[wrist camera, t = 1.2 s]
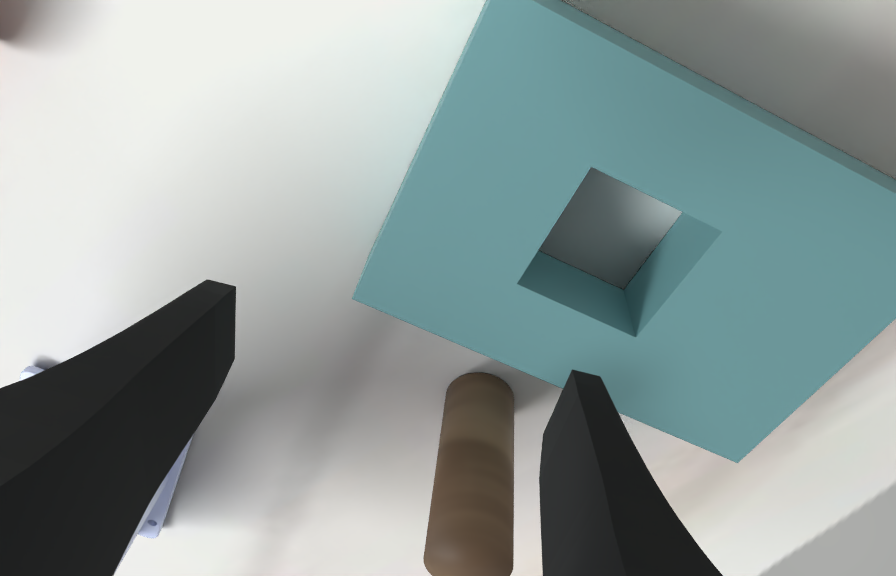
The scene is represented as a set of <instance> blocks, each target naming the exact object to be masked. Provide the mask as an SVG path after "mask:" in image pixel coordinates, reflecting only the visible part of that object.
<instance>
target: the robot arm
mask: <svg viewBox="0 0 896 576" xmlns="http://www.w3.org/2000/svg"><path fill="white" fill-rule="evenodd" d="M235 310H236V286H232V285H228V284H224V283H219V282H215V281H211V280H206V281H204V282H202V283H201V284H199V285H197V286H196V287H194V288H192V289H191V290H189V291H187V292H186V293H184V294H183V295H181V296H179V297H178V298H176V299H175V300H173V301H172V302H170V303H168V304H167V305H165V306H163V307H162V308H160V309H159V310H157V311H155V312H154V313H152V314H150V315H149V316H147V317H145V318H144V319H142V320H140V321H139V322H137V323H135V324H134V325H132V326H130V327H129V328H127V329H125V330H123V331H122V332H120V333H118V334H116V335H115V336H113V337H111V338H109V339H107V340H105V341H103V342H102V343H100V344H98V345H96V346H94V347H92V348H90V349H88V350H87V351H85V352H83V353H81V354H79V355H77V356H75V357H73V358H71V359H69V360H67V361H64V362H62V363H60V364H58V365H56V366H54V367H51V368H49V369H47V370H43V369H41V368H38V367H34V366H28V367H26V368H25V369H24V370H23V371H22V372H21V374H20V381H19V382H16V383H13V384H11V385H8V386H5V387H2V388H0V576H114V574H115V572H116V570H117V569H118V567H119V565H120V563H121V562H122V560H123V558H124V557H125V555H126V553H127V551H128V550H129V548H130V546H131V544H132V543H133V541H134V539H135V537H136V536H137V534H139V535H142V536H144V537H147V538H156V537H157V536H158V535H159V533H160V531H161V529H162V526H163V523H164V520H165V517H166V514H167V511H168V508H169V505H170V502H171V499H172V496H173V493H174V491H175V488H176V485H177V482H178V479H179V476H180V473H181V470H182V467H183V464H184V461H185V458H186V455H187V452H188V449H189V446H190V443H191V440H192V437H193V435H194V432H195V431H196V429H197V428H198V426H199V425H200V423H201V421H202V420H203V418H204V417H205V415H206V414H207V412H208V410H209V409H210V407H211V406H212V404H213V402H214V401H215V399H216V397H217V395H218V393H219V391H220V389H221V387H222V385H223V383H224V381H225V379H226V376H227V374H228V372H229V370H230V368H231V365H232V363H233V361H234V359H235ZM539 484H540V515H541V540H542V565H543V576H723V575H722V574H721V573H720V572H719V571H718V569H717V568H716V567H715V566H714V565H713V563H712V562H711V561H710V560H709V559H708V557H707V556H706V555H705V553H704V552H703V551H702V550H701V548H700V547H699V546H698V544H697V543H696V542H695V540H694V539H693V537H692V536H691V535H690V533H689V532H688V531H687V529H686V528H685V526H684V525H683V524H682V522H681V521H680V520H679V518H678V517H677V515H676V514H675V512H674V511H673V509H672V508H671V506H670V505H669V503H668V502H667V500H666V499H665V497H664V495H663V494H662V492H661V490H660V489H659V487H658V486H657V484H656V482H655V481H654V479H653V477H652V476H651V474H650V472H649V470H648V469H647V467H646V465H645V463H644V461H643V460H642V458H641V456H640V454H639V452H638V450H637V449H636V447H635V445H634V443H633V441H632V439H631V437H630V435H629V433H628V432H627V430H626V428H625V426H624V424H623V422H622V420H621V417H620V415H619V413H618V411H617V409H616V407H615V405H614V403H613V401H612V399H611V397H610V395H609V393H608V390H607V388H606V386H605V384H604V382H603V380H602V379H601V377H600V376H597V375H593V374H589V373H585V372H581V371H577V370H573V369H572V370H571V373H570V375H569V377H568V379H567V382H566V384H565V386H564V388H563V391H562V393H561V395H560V397H559V400H558V402H557V404H556V406H555V409H554V411H553V413H552V416H551V418H550V420H549V422H548V425H547V427H546V429H545V431H544V434H543V442H542V452H541V464H540V476H539Z"/></svg>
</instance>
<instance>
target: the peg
mask: <svg viewBox="0 0 896 576" xmlns="http://www.w3.org/2000/svg"><path fill="white" fill-rule="evenodd" d="M513 525H514V395H513V392H512V390H511V388H510V387H509V385H508V384H507V383H506V382H504V381H503V380H502V379H500V378H498V377H496V376H494V375H491V374H487V373H470V374H466V375H463V376H460V377H459V378H457V379H455V380H454V381H453V382H452V383H451V384H450V385H449V387H448V389H447V392H446V398H445V405H444V412H443V420H442V427H441V434H440V442H439V449H438V456H437V464H436V471H435V478H434V486H433V493H432V500H431V508H430V515H429V522H428V530H427V537H426V544H425V552H424V564H425V567H426V569H427V570H428V572H429V573H430V574H431V575H432V576H510V575H511V573H512V570H513Z"/></svg>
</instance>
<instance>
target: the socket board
mask: <svg viewBox="0 0 896 576" xmlns="http://www.w3.org/2000/svg"><path fill="white" fill-rule="evenodd" d="M591 167H593V168H595V169H597V170H599V171H601V172H603V173H605V174H607V175H609V176H611V177H613V178H615V179H617V180H619V181H621V182H623V183H625V184H627V185H629V186H631V187H633V188H635V189H637V190H639V191H641V192H643V193H645V194H647V195H649V196H651V197H653V198H655V199H657V200H659V201H661V202H663V203H666V204H668V205H670V206H672V207H674V208H676V209H678V210H680V211H682V212H683V213H682V214H681V215H680V217H679V218H678V219H677V221H676V222H675V223H674V224H673V226H672V227H671V228H670V230H669V231H668V232H667V234H666V235H665V236H664V238H663V239H662V240H661V242H660V243H659V244H658V246H657V247H656V248H655V250H654V251H653V252H652V253H651V255H650V256H649V257H648V259H647V260H646V261H645V263H644V264H643V265H642V267H641V268H640V269H639V271H638V272H637V273H636V275H635V276H634V277H633V278H632V280H631V281H630V282H629V284H628V285H627V286H626V288H625V289H624V290H622V289H620V288H618V287H616V286H614V285H612V284H609V283H607V282H605V281H603V280H601V279H599V278H596V277H594V276H592V275H590V274H588V273H586V272H583V271H581V270H579V269H577V268H575V267H573V266H570V265H568V264H566V263H564V262H562V261H560V260H557V259H555V258H553V257H551V256H549V255H547V254H544V253H542V252H540V251H538V250H539V248H540V247H541V245H542V244H543V242H544V240H545V239H546V237H547V236H548V234H549V233H550V231H551V229H552V228H553V226H554V225H555V223H556V222H557V220H558V218H559V217H560V215H561V214H562V212H563V211H564V209H565V207H566V206H567V204H568V203H569V201H570V200H571V198H572V196H573V195H574V193H575V192H576V190H577V189H578V187H579V185H580V184H581V182H582V181H583V179H584V178H585V176H586V174H587V173H588V171H589V170H590V168H591ZM352 299H353V300H356V301H358V302H361V303H363V304H365V305H368V306H370V307H372V308H375V309H377V310H379V311H382V312H384V313H386V314H389V315H391V316H393V317H396V318H398V319H400V320H403V321H405V322H407V323H410V324H412V325H415V326H417V327H419V328H422V329H424V330H426V331H429V332H431V333H433V334H436V335H438V336H440V337H443V338H445V339H447V340H450V341H452V342H454V343H457V344H459V345H461V346H464V347H466V348H468V349H471V350H473V351H476V352H478V353H480V354H483V355H485V356H487V357H490V358H492V359H494V360H497V361H499V362H501V363H504V364H506V365H508V366H511V367H513V368H515V369H518V370H520V371H522V372H525V373H527V374H530V375H532V376H534V377H537V378H539V379H541V380H544V381H546V382H548V383H551V384H553V385H555V386H558V387H560V388H562V389H563V388H564V386H565V384H566V382H567V379H568V377H569V375H570V373H571V370H572V369H573V370H577V371H581V372H585V373H589V374H593V375H597V376H600V377H601V379H602V380H603V382H604V384H605V386H606V388H607V390H608V393H609V395H610V397H611V399H612V401H613V403H614V405H615V407H616V409H617V411H618V412H619V413H621V414H623V415H626V416H628V417H630V418H633V419H635V420H637V421H640V422H642V423H645V424H647V425H649V426H652V427H654V428H656V429H659V430H661V431H663V432H666V433H668V434H670V435H673V436H675V437H677V438H680V439H682V440H684V441H687V442H689V443H691V444H694V445H696V446H699V447H701V448H703V449H706V450H708V451H710V452H713V453H715V454H717V455H720V456H722V457H724V458H727V459H729V460H731V461H734V462H736V463H738V462H739V461H740V460H741V459H743V458H744V457H745V456H746V455H747V454H748V453H749V452H750V451H751V450H752V449H754V448H755V447H756V446H757V445H758V444H759V443H760V442H761V441H762V440H763V439H764V438H766V437H767V436H768V435H769V434H770V433H771V432H772V431H773V430H774V429H775V428H776V427H778V426H779V425H780V424H781V423H782V422H783V421H784V420H785V419H786V418H787V417H789V416H790V415H791V414H792V413H793V412H794V411H795V410H796V409H797V408H798V407H799V406H801V405H802V404H803V403H804V402H805V401H806V400H807V399H808V398H809V397H810V396H811V395H813V394H814V393H815V392H816V391H817V390H818V389H819V388H820V387H821V386H822V385H823V384H825V383H826V382H827V381H828V380H829V379H830V378H831V377H832V376H833V375H834V374H836V373H837V372H838V371H839V370H840V369H841V368H842V367H843V366H844V365H845V364H846V363H848V362H849V361H850V360H851V359H852V358H853V357H854V356H855V355H856V354H857V353H858V352H860V351H861V350H862V349H863V348H864V347H865V346H866V345H867V344H868V343H869V342H871V341H872V340H873V339H874V338H875V337H876V336H877V335H878V334H879V333H880V332H881V331H883V330H884V329H885V328H886V327H887V326H888V325H889V324H890V323H891V322H892V321H893V320H895V319H896V180H895V179H893V178H891V177H889V176H887V175H886V174H884V173H882V172H880V171H878V170H876V169H874V168H872V167H871V166H869V165H867V164H865V163H863V162H861V161H859V160H858V159H856V158H854V157H852V156H850V155H848V154H846V153H844V152H843V151H841V150H839V149H837V148H835V147H833V146H831V145H830V144H828V143H826V142H824V141H822V140H820V139H818V138H817V137H815V136H813V135H811V134H809V133H807V132H805V131H803V130H802V129H800V128H798V127H796V126H794V125H792V124H790V123H789V122H787V121H785V120H783V119H781V118H779V117H777V116H775V115H774V114H772V113H770V112H768V111H766V110H764V109H762V108H761V107H759V106H757V105H755V104H753V103H751V102H749V101H748V100H746V99H744V98H742V97H740V96H738V95H736V94H734V93H733V92H731V91H729V90H727V89H725V88H723V87H721V86H720V85H718V84H716V83H714V82H712V81H710V80H708V79H706V78H705V77H703V76H701V75H699V74H697V73H695V72H693V71H692V70H690V69H688V68H686V67H684V66H682V65H680V64H679V63H677V62H675V61H673V60H671V59H669V58H667V57H665V56H664V55H662V54H660V53H658V52H656V51H654V50H652V49H651V48H649V47H647V46H645V45H643V44H641V43H639V42H637V41H636V40H634V39H632V38H630V37H628V36H626V35H624V34H623V33H621V32H619V31H617V30H615V29H613V28H611V27H609V26H608V25H606V24H604V23H602V22H600V21H598V20H596V19H595V18H593V17H591V16H589V15H587V14H585V13H583V12H582V11H580V10H578V9H576V8H574V7H572V6H570V5H568V4H567V3H565V2H563V1H561V0H486V2H485V4H484V7H483V9H482V11H481V13H480V15H479V17H478V20H477V22H476V24H475V26H474V28H473V30H472V33H471V35H470V37H469V39H468V41H467V43H466V46H465V48H464V50H463V52H462V54H461V56H460V59H459V61H458V63H457V65H456V67H455V69H454V72H453V74H452V76H451V78H450V80H449V82H448V85H447V87H446V89H445V91H444V93H443V96H442V98H441V100H440V102H439V104H438V106H437V109H436V111H435V113H434V115H433V117H432V119H431V122H430V124H429V126H428V128H427V130H426V132H425V135H424V137H423V139H422V141H421V143H420V145H419V148H418V150H417V152H416V154H415V156H414V158H413V161H412V163H411V165H410V167H409V169H408V171H407V174H406V176H405V178H404V180H403V182H402V184H401V187H400V189H399V191H398V193H397V195H396V197H395V200H394V202H393V204H392V206H391V208H390V211H389V213H388V215H387V217H386V219H385V221H384V224H383V226H382V228H381V230H380V232H379V234H378V237H377V239H376V241H375V243H374V245H373V247H372V250H371V252H370V254H369V256H368V259H367V261H366V264H365V266H364V269H363V272H362V274H361V277H360V279H359V282H358V284H357V287H356V290H355V292H354V295H353V297H352Z"/></svg>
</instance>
